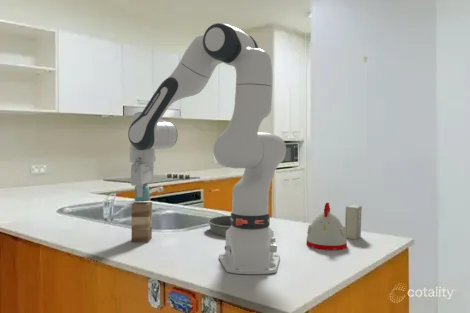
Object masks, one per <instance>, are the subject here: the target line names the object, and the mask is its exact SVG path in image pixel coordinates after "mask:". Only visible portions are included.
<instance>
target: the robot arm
mask: <svg viewBox="0 0 470 313" xmlns="http://www.w3.org/2000/svg"><path fill="white" fill-rule="evenodd" d="M220 64H225V65H228V66H233V68H234V69H235V73H236V75H235V77H236V78H235V95H234V96H235V97H234V108H233V114H232V116H231V118H230V119H231V120H230V121H229V124H228V125H227V127H226V129H225V130H223V132H222V133H221V134H220V135H219V136H218V137H217V138H216V139H215V141H214V144H213V156H214V159H215V160H216V162H217V164H219V165H220V166H222V167H226V168H231V169H244V172H243V175H242V177H241V178H240V180H239V181H237V182H236V183H235V184H234V185H233V188H232V198H231V199H232V200H231V202H232V203H231V204H232V206H231V210H232V211H231V212H230V216H231V217H230V220H231V227H230V228H229V229H228V230H227V231H226V236H225V246H224V250H225V251H224V252H223V253H220V254H219V255H218V259H219V261H220V263H221V264H222V266H223V268H224V270H225V271H226V272H227V273H230V274H237V275H269V274H275V273H277V271H278V268H279V266H280V265H279V264H280V261H281V255H280V254H277V252H278V251H277V249H278V245H277V244H275V243H276V237H275V236H274V230H273V229H271V227H270V221H271V218H270V212H269V201H270V200H269V198H270V197H269V196H270V186H271V184H272V179H273V176H274V175H275V172H276V170H277V168H278V166H280V165H281V163H282V162H283V161H284V159H285V157H286V155H287V146H286V142H285V141H284V139H283V138H282V137H281V136H280V135H276V134H273V133H271V132H270V133H269V132H259V129H260V126H261V123H262V122H263V120H264V119H265V118H267V117H268V116H269V115H270V113H271V111H272V97H273V69H272V68H273V67H272V61H271V56H270V54H269V53H268V51H265V50H263V49H261V48H259V46H258V43H257V41H256V40H255V38H254V37H252V35H250V34H247V33H245V32H244V31H243V30H241V29H239V28H237V27H235V26H232V25H230V24H228V23H223V22H222V23H221V22H217V23H213V24H211V25H210V26H208V28H206V30H205V32H204V33H203V35H198V36H196V37H195V38H194V39H192V42H191V43H190V44H189V46H188V47H187V49H186V50H185V52H184V53H183V55H182V56H181V59H180V61H179V62H178V64H177V66H176V67H175V69H174V70H173V71H172V73H171V74H170V75H169V76H168V77H167V78H165V79H164V80H163V81H162V82H161V83H160V85H159V86H158V87H157V89H156V90H155V92H154V93H153V95H152V97H151V98H150V100H149V101H148V103H147V104H146V105H145V107H144V109H143V110H142V111H138V112H135V113H134V114H132V116H131V119H130V124H129V128H128V133H127V135H128V140H129V143H130V147H129V163H132V164H131V168H130V185H131V186H134V187H135V186H136V190H137V197H143V186H149V182H152V181H153V178H154V167H155V166H154V165H155V164H154V163H155V162H156V155H155V154H156V150H160V149H161V150H163V149H168V148H169V149H170V148H172V147H173V146H175V145H176V143H177V140H178V129H177V127H176V126H175V124H173V123H171V122H169V121H167V120H164V119H162V118H163V116H164V115H165V113H166V112H167V111H168V109H169V107H170V106H171V105H172V104H173V103H176V102H177V101H180V100H181V99H185V98H188V97H193V96H196V95H198V94H200V93H201V92H202V91H203V90H204V88H205V87H207V84H208V83H209V80H210V78H211V77H212V75H213V73H214V71H215V69H216V68H217V66H218V65H220Z"/></svg>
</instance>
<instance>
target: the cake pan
mask: <svg viewBox="0 0 470 313" xmlns="http://www.w3.org/2000/svg"><path fill="white" fill-rule="evenodd" d="M230 217H231V215H222V216H220V215H219V216H214V217H212V218H209V219H207V220H206V222H207V224H209V227H210V232H211V233H212V234H214V235H217V236H221V237H222V236H223V237H226V231H227V230H228V229H229V228H230V227H231V220H230Z"/></svg>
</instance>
